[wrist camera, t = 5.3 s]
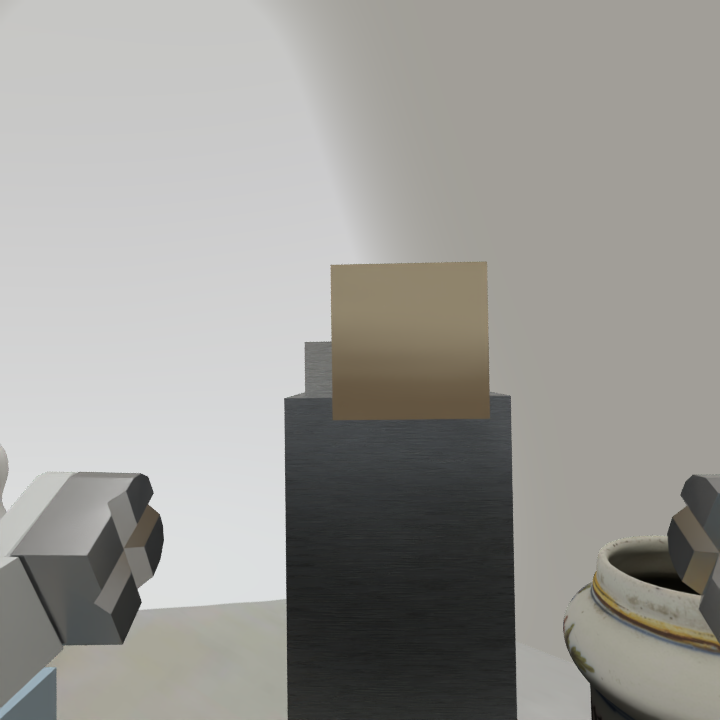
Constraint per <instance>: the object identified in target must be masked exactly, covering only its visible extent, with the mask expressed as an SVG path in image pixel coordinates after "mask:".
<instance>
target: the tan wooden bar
mask: <svg viewBox="0 0 720 720" xmlns="http://www.w3.org/2000/svg"><path fill="white" fill-rule="evenodd" d="M487 290H488V289H487V262H445V263H397V264H353V265H352V264H350V265H331V325H332V328H331V329H332V410H333V420H405V419H490V396H489V346H488V345H489V343H488V295H487V293H488V292H487Z"/></svg>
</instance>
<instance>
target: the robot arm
mask: <svg viewBox="0 0 720 720" xmlns="http://www.w3.org/2000/svg"><path fill="white" fill-rule="evenodd" d="M152 495H153V490H152V487H151V484H150V481H149V478H148V477H147V476H145V475H143V474H141V473H102V472H78V473H74V472H46V473H44V474H41V475H39V476H37V477H36V478H35V479H34V480H33V482H32V483H31V484H30V485H29V486H28V488H27V489H26V490H25V491H24V492H23V493H22V495H21V496H20V497H19V498H18V499H17V501H16V502H15V503H14V504H13V505H12V506H11V508H10V509H9V510H8V511H7V512H6V514H5V515H4V516H3V517H2V518H1V519H0V708H1V707H3V706H4V705H5V704H6V703H7V702H8V701H9V700H10V699H11V698H12V697H13V696H14V695H15V694H16V693H17V692H18V691H19V690H21V689H22V688H23V687H24V686H25V685H26V684H27V683H28V682H29V681H30V680H31V679H32V678H33V677H34V676H35V675H36V674H37V673H39V672H40V671H41V670H42V669H43V668H44V667H45V666H46V665H47V664H48V663H49V662H50V661H51V660H52V659H53V658H54V657H56V656H57V655H58V654H59V653H60V652H61V651H62V650H63V646H62V645H122V644H123V643H124V640H125V638H126V636H127V634H128V632H129V629H130V627H131V625H132V623H133V620H134V618H135V616H136V614H137V612H138V609H139V607H140V605H141V603H142V602H141V599H140V596H139V593H138V588H139V587H140V586H142V585H143V584H144V583H145V582H147V581H148V580H149V579H150V578H152V577H153V576H154V573H155V571H156V569H157V566H158V564H159V561H160V558H161V553H162V546H163V542H164V536H163V525H162V521H161V517H160V514H159V513H158V512H156V511H155V510H154V509H153V508H152V507H150V506H149V505H148V503H149V501H150V499H151V497H152ZM681 497H682V498H683V500H684V502H685V503H686V505H687V506H686V507H685V508H684V509H682V510H681V511H680V512H678V513H677V514H676V515H674V516H673V517H672V520H671V523H670V527H669V530H668V533H667V537H668V550H669V554H670V557H671V560H672V563H673V566H674V568H675V570H676V572H677V573H678V575H679V577H680V579H681V580H682V582H684V583H685V584H686V585H688V586H689V587H691V588H692V589H693V590H695V591H696V592H698V593H699V594H700V595H701V599H700V604H699V611H700V612H701V614H702V616H703V617H704V619H705V621H706V622H707V624H708V626H709V627H710V629H711V631H712V632H713V634H714V636H715V637H716V639H717V641H718V642H719V644H720V475H692V476H691V477H690V478H689V479H688V480H687V481H686V482H685V484H684V487H683V489H682V492H681Z"/></svg>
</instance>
